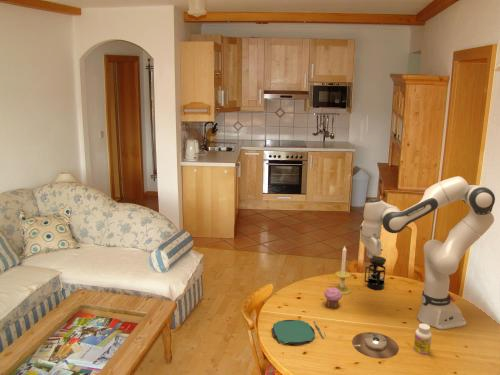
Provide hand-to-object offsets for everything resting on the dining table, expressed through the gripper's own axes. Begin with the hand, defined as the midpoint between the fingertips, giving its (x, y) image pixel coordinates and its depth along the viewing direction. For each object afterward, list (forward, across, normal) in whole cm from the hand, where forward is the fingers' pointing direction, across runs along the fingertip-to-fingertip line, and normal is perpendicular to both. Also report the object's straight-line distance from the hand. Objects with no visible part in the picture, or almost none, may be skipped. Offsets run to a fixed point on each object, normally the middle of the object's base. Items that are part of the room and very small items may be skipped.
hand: (369, 257), depth 227 cm
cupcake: (+29, +5, +16) cm, 34 cm away
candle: (+29, +22, +6) cm, 37 cm away
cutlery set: (+30, -19, +36) cm, 50 cm away
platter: (+29, -33, +7) cm, 44 cm away
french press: (+29, +25, -14) cm, 41 cm away
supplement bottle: (+29, -38, -12) cm, 49 cm away
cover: (+28, -33, +7) cm, 44 cm away
